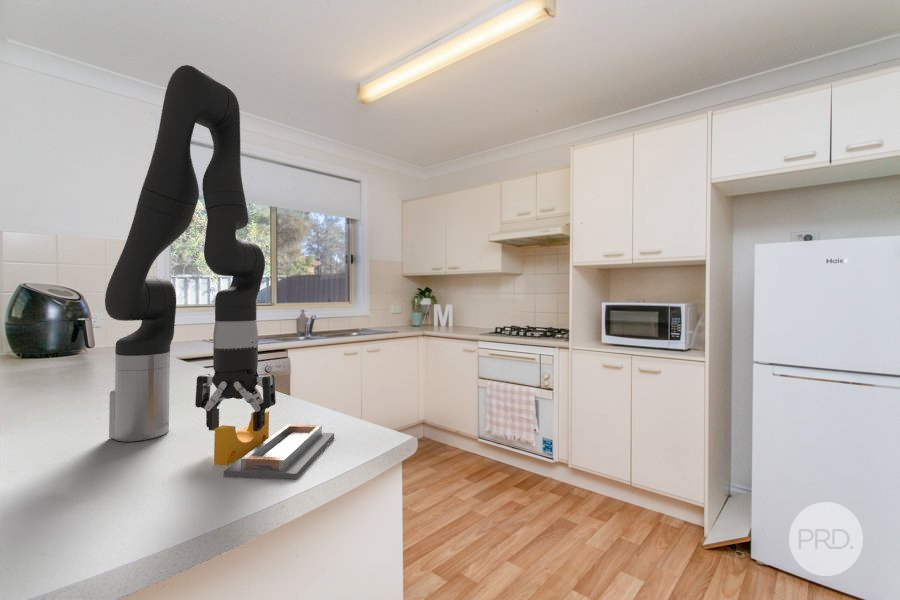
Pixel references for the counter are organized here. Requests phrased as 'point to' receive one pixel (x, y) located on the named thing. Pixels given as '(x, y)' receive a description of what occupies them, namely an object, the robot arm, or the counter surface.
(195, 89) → the robot arm
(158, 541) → the counter surface
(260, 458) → the long hollow rectangular frame
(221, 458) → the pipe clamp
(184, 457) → the counter surface
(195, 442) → the counter surface
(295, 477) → the mounting board
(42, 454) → the counter surface
